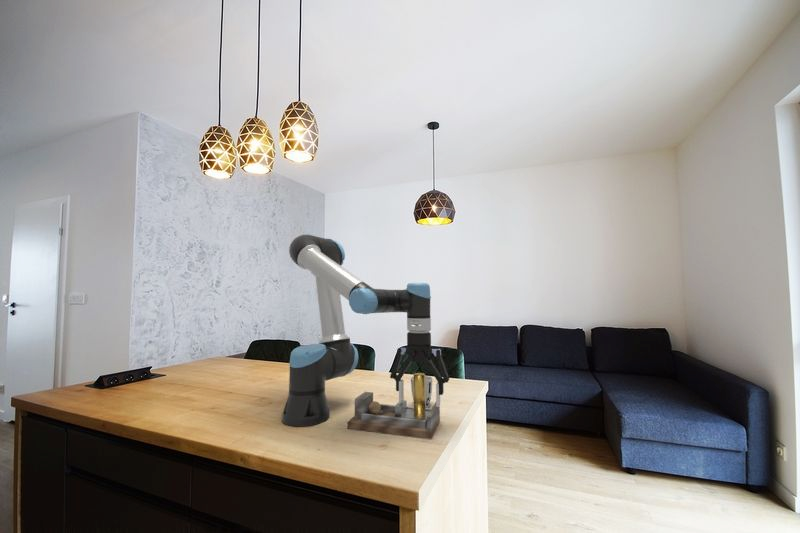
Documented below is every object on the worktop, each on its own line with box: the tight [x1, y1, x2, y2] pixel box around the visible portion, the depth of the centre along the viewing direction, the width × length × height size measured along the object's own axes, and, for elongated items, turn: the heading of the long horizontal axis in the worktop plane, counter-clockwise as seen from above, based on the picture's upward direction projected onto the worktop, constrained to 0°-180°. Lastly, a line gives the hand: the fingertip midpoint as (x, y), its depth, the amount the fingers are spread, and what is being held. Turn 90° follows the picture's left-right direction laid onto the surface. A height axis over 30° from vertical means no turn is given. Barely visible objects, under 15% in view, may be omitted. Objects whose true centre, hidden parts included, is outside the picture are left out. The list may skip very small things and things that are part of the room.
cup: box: [410, 375, 433, 409], centre depth 117 cm, size 8×8×10 cm
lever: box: [395, 372, 430, 426], centre depth 98 cm, size 10×8×14 cm
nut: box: [369, 400, 381, 415], centre depth 101 cm, size 4×4×4 cm
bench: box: [346, 391, 441, 440], centre depth 99 cm, size 26×14×8 cm, turn 73°
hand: (419, 403), depth 97 cm, fingers open, 11 cm apart
